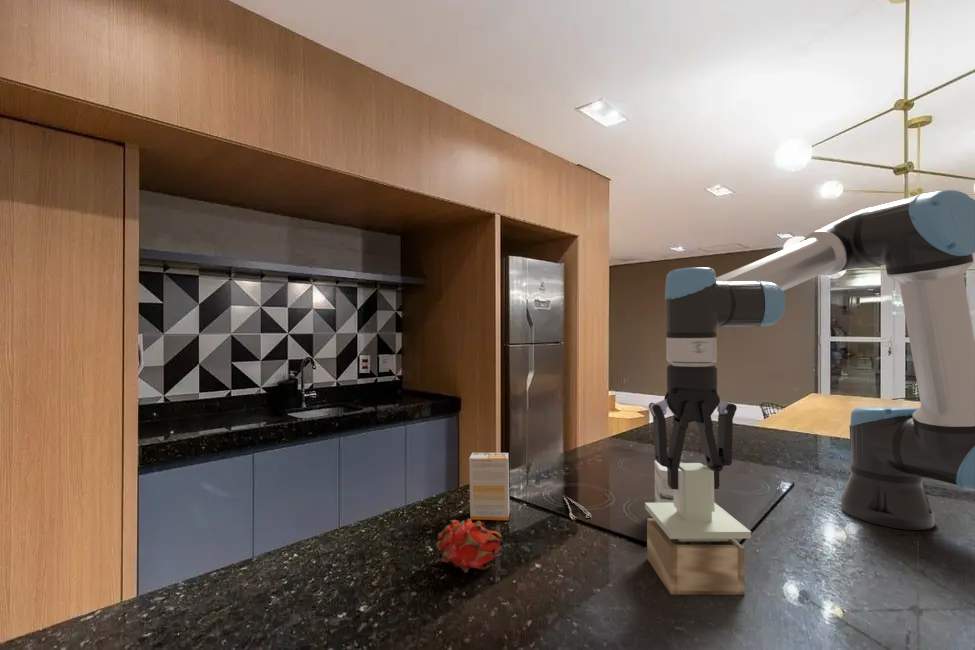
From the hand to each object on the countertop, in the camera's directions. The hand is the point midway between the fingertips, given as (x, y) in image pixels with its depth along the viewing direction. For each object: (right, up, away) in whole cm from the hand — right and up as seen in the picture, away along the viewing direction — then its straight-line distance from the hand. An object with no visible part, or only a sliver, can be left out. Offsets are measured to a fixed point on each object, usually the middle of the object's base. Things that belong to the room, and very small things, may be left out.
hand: (693, 508), depth 77 cm
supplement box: (-33, -11, +24) cm, 42 cm away
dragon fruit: (-36, -11, +3) cm, 38 cm away
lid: (0, -4, 0) cm, 4 cm away
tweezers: (-15, -12, +31) cm, 37 cm away
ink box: (+4, -11, +21) cm, 24 cm away
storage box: (0, -11, 0) cm, 11 cm away
